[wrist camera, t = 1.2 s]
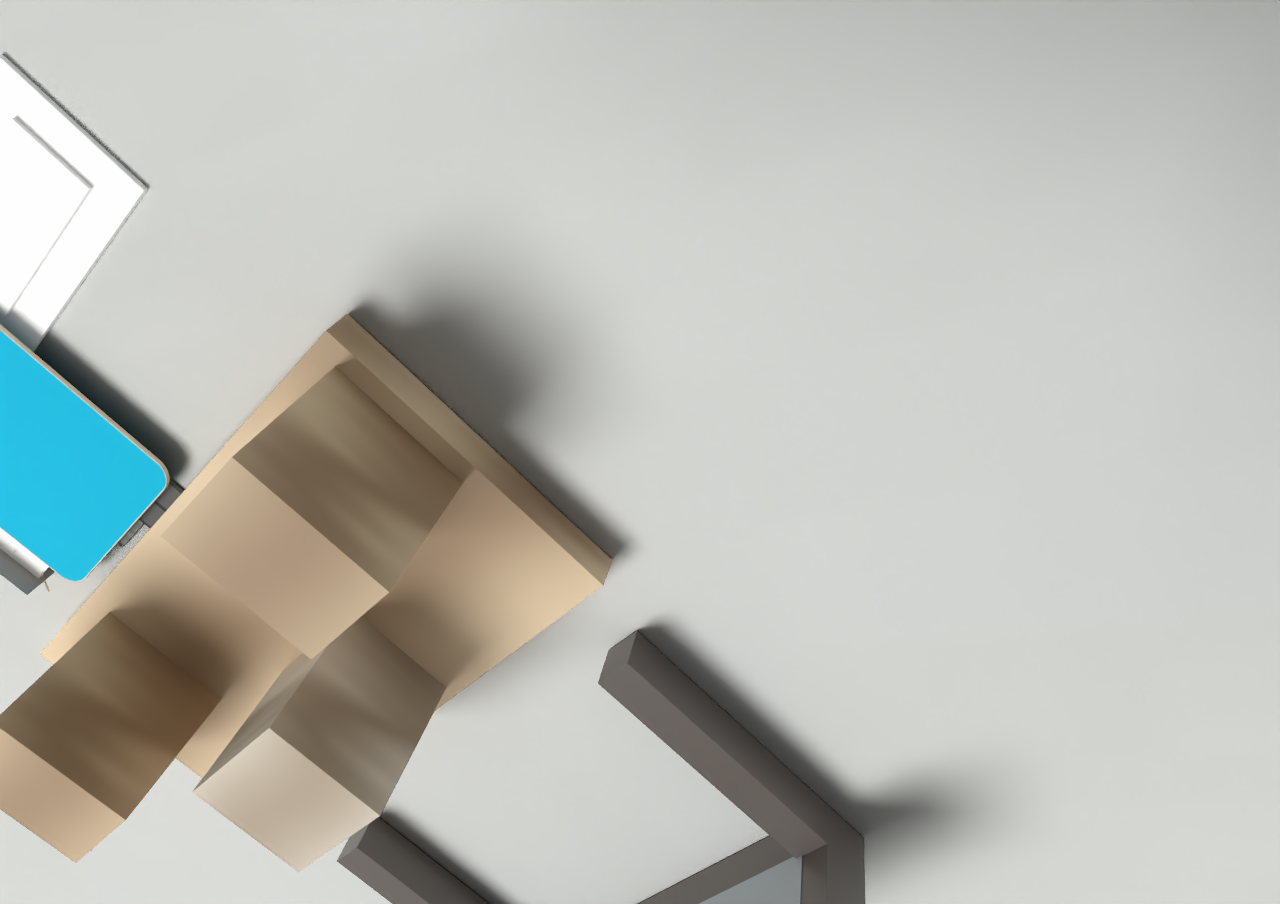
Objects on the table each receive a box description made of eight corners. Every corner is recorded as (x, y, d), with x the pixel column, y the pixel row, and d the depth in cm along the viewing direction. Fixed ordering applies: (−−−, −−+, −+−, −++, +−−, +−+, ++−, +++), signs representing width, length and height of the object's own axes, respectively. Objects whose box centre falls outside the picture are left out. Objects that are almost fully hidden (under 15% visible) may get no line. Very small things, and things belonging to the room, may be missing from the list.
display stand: (612, 559, 23) (557, 710, 18) (289, 804, 29) (192, 959, 25) (347, 313, 21) (218, 416, 17) (64, 630, 27) (-83, 765, 23)
